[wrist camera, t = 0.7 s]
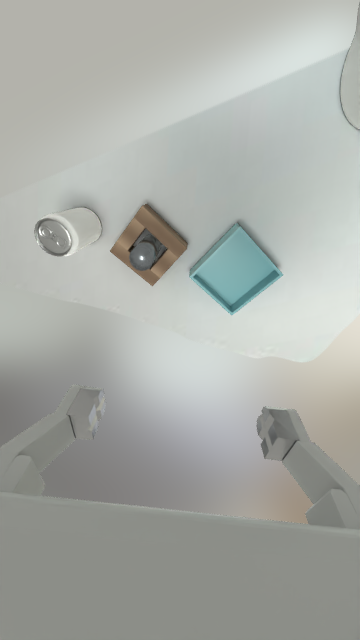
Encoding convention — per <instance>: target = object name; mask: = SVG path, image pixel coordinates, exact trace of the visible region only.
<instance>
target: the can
mask: <svg viewBox="0 0 360 640" xmlns="http://www.w3.org/2000/svg"><path fill="white" fill-rule="evenodd" d="M101 231H102V227H101V223H100V220H99V218H98V217H97V215H96V214H95V213H94V212H92V211H91V210H89V209H87V208H75V209H70V210H65V211H60V212H56V213H52V214H48V215H46V216H44V217H42V218H41V220H39V221H38V222H37V224H36V226H35V230H34V232H35V237H36V240H37V242H38V244H39V245H40V246H41V248H42V249H43V250H44V251H46V252H47V253H49V254H51V255H53V256H69V255H72V254H74V253H75V252H77V251H79V250H81V249H82V248H84V247H86V246H88V245H89V244H91V243H93V242H94V241H96V240H97V239H98V238H99V237H100V235H101Z"/></svg>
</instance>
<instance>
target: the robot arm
mask: <svg viewBox="0 0 360 640" xmlns="http://www.w3.org/2000/svg"><path fill="white" fill-rule="evenodd" d="M340 94H341V103H342V108H343V111H344V113H345V116H346V117H347V119H348V121H349V122H350V123H351V124H352V125H353V126H354V127H355V128H357V129H359V130H360V4H359V9H358V17H357V27H356V32H355V35H354V39H353V41H352V44H351V46H350V49H349V52H348V54H347V57H346V60H345V64H344V68H343V72H342V77H341V88H340ZM103 396H104V389H102V388H94V387H87V386H80V385H72V386H71V387H70V388H69V390H68V391H67V393H66V395H65V396H64V398H63V400H62V401H61V403H60V405H59V406H58V408H57V409H56V411H55V413H54V414H49V415H48V416H46V417H45V418H43V419H42V420H40V421H39V422H37V423H36V424H34V425H33V426H31V427H30V428H29V429H27V430H25V431H24V432H22V433H21V434H19V435H18V436H16V437H15V438H13V439H12V440H11V441H9V442H7V443H6V444H5V445H3V446H1V447H0V640H360V485H359V484H358V483H357V482H356V481H355V480H353V479H352V478H351V477H350V476H349V475H348V474H347V473H346V472H345V471H344V470H343V469H342V468H341V467H340V466H339V465H338V464H337V463H335V462H334V461H333V460H332V459H331V458H330V457H329V456H328V455H327V454H326V453H325V452H324V451H323V450H322V449H321V448H320V447H319V446H317V445H316V444H315V443H313V442H311V440H310V438H309V436H308V434H307V432H306V430H305V428H304V425H303V423H302V421H301V419H300V417H299V415H298V413H297V411H296V410H293V409H284V408H276V407H266V406H265V407H263V409H262V415H260V416H259V417H258V419H257V432H258V435H259V436H260V438H261V439H262V440H263V441H262V443H261V447H262V450H263V454H264V458H265V459H271V460H278V461H282V463H283V464H284V466H285V467H286V468H287V470H288V471H289V472H290V474H291V475H292V476H293V477H294V479H295V480H296V481H297V483H298V484H299V485H300V487H301V488H302V490H303V491H304V492H305V493H306V495H307V496H308V498H309V499H310V500H311V502H312V503H313V504H314V505H313V506H312V507H311V508H309V509H308V511H307V512H306V514H305V515H306V517H307V520H308V524H302V523H292V522H283V521H274V520H264V519H255V518H246V517H245V518H244V517H236V516H227V515H216V514H208V513H199V512H189V511H180V510H171V509H161V508H152V507H142V506H132V505H124V504H114V503H105V502H95V501H85V500H76V499H67V498H58V497H48V496H41V494H42V492H43V490H44V488H45V483H44V481H43V479H42V477H41V476H40V472H42V471H43V470H44V469H45V468H46V467H47V466H48V465H49V464H50V463H51V462H52V461H53V460H54V459H55V458H56V457H57V456H58V455H60V454H61V453H62V451H64V450H65V449H66V448H67V447H68V446H69V445H70V444H71V443H72V442H73V441H74V440H75V438H77V439H89V440H93V439H94V436H95V434H96V431H97V429H98V421H99V420H100V419H101V418H102V416H103V414H104V410H105V403H106V401H105V398H104V397H103Z"/></svg>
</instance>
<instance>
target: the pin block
mask: <svg viewBox="0 0 360 640" xmlns="http://www.w3.org/2000/svg"><path fill="white" fill-rule="evenodd" d="M145 229H147V230H148V231H149V232H150V233H151V234H152V235H154V236H155V237H156V238H157V239H158V240H159V241H160V242H161V243H162V244H163V245H164V246H165V247H167V249H166V250H165V251H164V252H163V253H162V255H161V256H160V257H159V258H158V259H157V260H156V262H155V263H153V264H152V266H151V267H150V268H149V269H148V270H145V271H140V270H137V269H135V268H134V267H133V266H132V265H131V263H130V260H129V255H130V252H131V251H132V250H133V249H134V248H135V247H134V246H133V244H134V243H135V242H136V241H137V239H138V238H139V237H140V235H141V234H142V233H143V231H144V230H145ZM187 245H188V243H187V242H186V241H185V240H184V239H183V238H182V237H181V236H180V235H178V234H177V233H176V232H175V231H174V230H173V229H172V228H171V227H170V226H169V225H168V224H167V223H166V222H165V221H164V220H163V219H162V218H161V217H160V216H159V215H158V214H157V213H156V212H155V211H154V210H153V209H152V208H151V207H150V206H149V205H148V204H145V205H142V207H141V208H140V209H139V211H138V212H137V214H136V215H135V216H134V218H133V219H132V221H131V222H130V223H129V225H128V226H127V228H126V229H125V230H124V232H123V233H122V235H121V236H120V237H119V239H118V240H117V242H116V243H115V244H114V246H113V247H112V249H111V250H110V252H111V253H113V254H114V255H115V256H116V257H117V258H119V259H120V260H121V261H122V262H124V263H125V264H126V265H127V266H128V267H130V268H131V269H132V270H133V271H134V272H136V273H137V274H138V275H139V276H141V277H142V278H143V279H144V280H145V281H147V282H148V283H149V284H150V285H152V286H153V285H154V284H155V283H156V282H157V281H158V280H159V279H160V277H161V276H162V275H163V274H164V273H165V272H166V271H167V270H168V269H169V268H170V267H171V266H172V264H173V263H174V262H175V261H176V260H177V259H178V258H179V257H180V256H181V255H182V254H183V252H184V251H185V250H186V249H187Z"/></svg>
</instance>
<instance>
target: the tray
mask: <svg viewBox="0 0 360 640" xmlns="http://www.w3.org/2000/svg"><path fill="white" fill-rule="evenodd" d="M282 276H283V274H282V273H281V272H280V270H279V269H278V268H277V267H276V266H275V265H274V264H273V263H272V261H271V260H270V259H269V258H268V257H267V256H266V255H265V254H264V252H263V251H262V250H261V249H260V248H259V247H258V246H257V245H256V243H255V242H254V241H253V240H252V239H251V238H250V237H249V236H248V234H247V233H246V232H245V231H244V230H243V229H242V228H241V226H240V225H239V224H238V223H236V224H235V225H234V226H233V227H232V228H231V229H230V230H229V231H228V232H227V233H226V234H225V235H224V236H223V237H222V238H221V239H220V240H219V241H218V242H217V243H216V244H215V245H214V246H213V247H212V248H211V249H210V250H209V251H208V252H207V253H206V254H205V255H204V256H203V257H202V258H201V259H200V260H199V261H198V262H197V264H196V265H195V266H194V267H193V268H192V269H191V270H190V275H189V277H190V278H191V279H192V280H193V281H194V282H195V283H196V284H198V285H199V286H200V287H201V288H202V289H203V290H204V291H205V292H206V293H207V294H209V295H210V296H211V297H212V298H213V299H214V300H215V301H216V302H217V303H219V304H220V305H221V306H222V307H223V308H224V309H225V310H226V311H227V312H228V313H230V314H231V315H233V314H234V313H236V312H237V311H238V310H240V309H241V308H242V307H243V306H245V305H246V304H247V303H248V302H250V301H251V300H252V299H254V298H255V297H256V296H257V295H259V294H260V293H261V292H262V291H264V290H265V289H266V288H268V287H269V286H270V285H271V284H273V283H274V282H275V281H276V280H278V279H279V278H280V277H282Z"/></svg>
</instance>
